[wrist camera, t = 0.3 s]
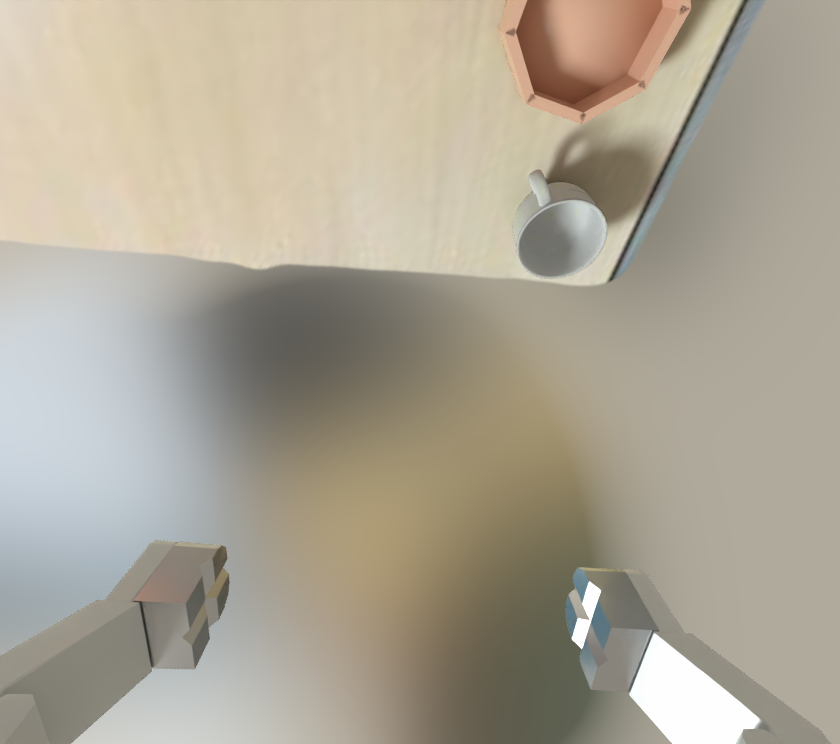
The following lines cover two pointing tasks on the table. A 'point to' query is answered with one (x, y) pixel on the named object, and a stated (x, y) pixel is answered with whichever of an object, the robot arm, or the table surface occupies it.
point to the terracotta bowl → (586, 50)
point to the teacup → (557, 229)
